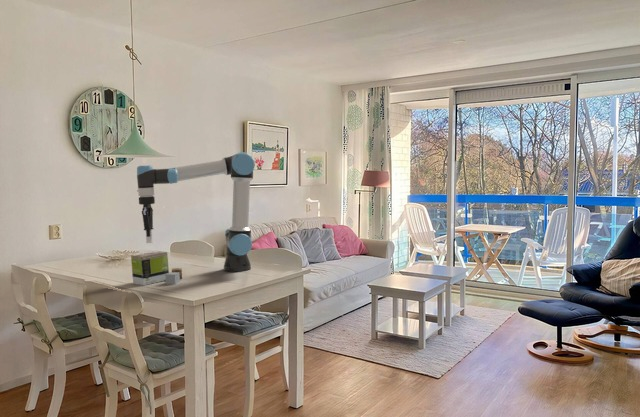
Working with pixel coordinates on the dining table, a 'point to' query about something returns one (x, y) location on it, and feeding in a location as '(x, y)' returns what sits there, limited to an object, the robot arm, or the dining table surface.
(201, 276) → the dining table surface
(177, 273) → the slate-grey cube
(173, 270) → the walnut cube
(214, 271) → the dining table surface
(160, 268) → the tea box
